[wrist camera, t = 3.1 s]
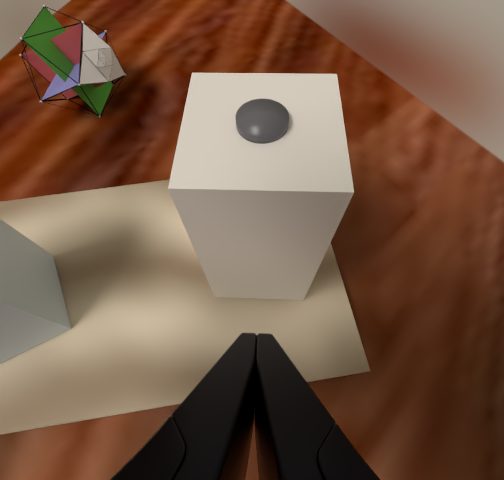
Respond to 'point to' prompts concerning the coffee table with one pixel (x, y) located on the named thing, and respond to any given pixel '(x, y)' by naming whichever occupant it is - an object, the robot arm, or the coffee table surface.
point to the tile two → (27, 295)
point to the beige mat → (150, 312)
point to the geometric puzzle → (72, 60)
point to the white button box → (261, 179)
